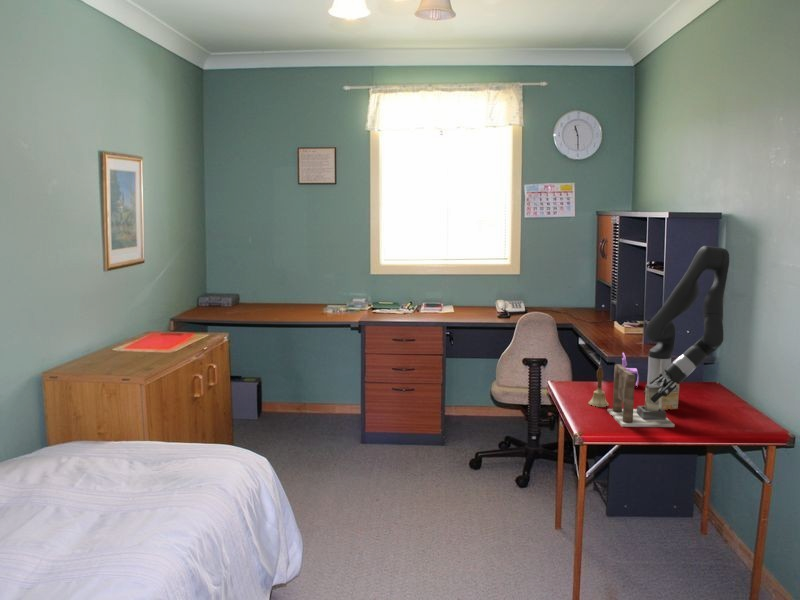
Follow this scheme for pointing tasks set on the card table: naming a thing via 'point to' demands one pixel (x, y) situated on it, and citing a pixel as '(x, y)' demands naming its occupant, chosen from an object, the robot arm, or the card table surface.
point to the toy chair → (632, 370)
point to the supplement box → (670, 399)
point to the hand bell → (599, 392)
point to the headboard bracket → (632, 404)
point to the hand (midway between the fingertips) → (648, 397)
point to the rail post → (648, 394)
